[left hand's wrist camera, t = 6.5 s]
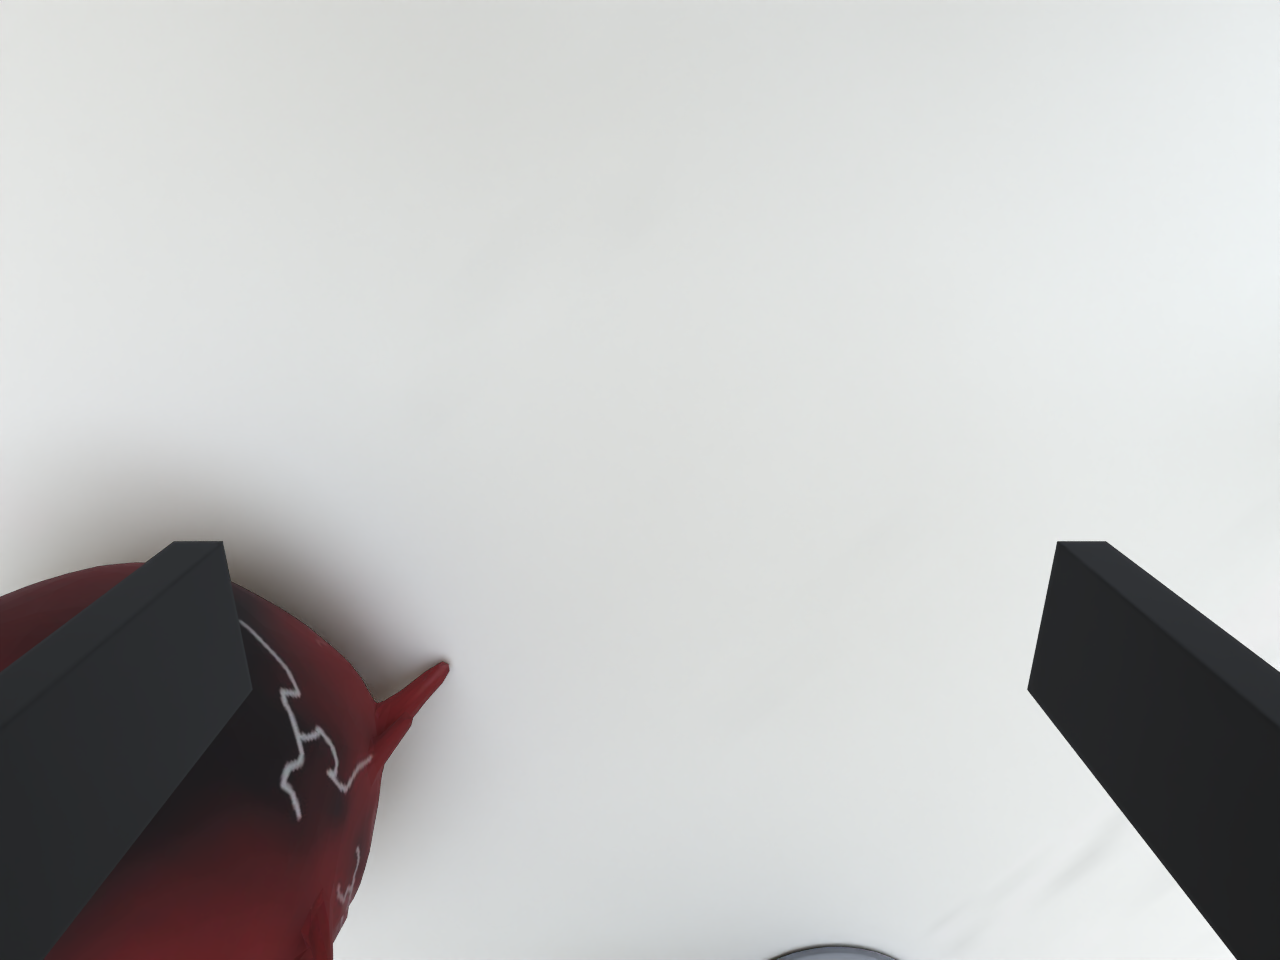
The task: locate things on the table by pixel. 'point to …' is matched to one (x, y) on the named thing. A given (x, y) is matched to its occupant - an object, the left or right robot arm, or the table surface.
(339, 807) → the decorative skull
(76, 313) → the table surface
